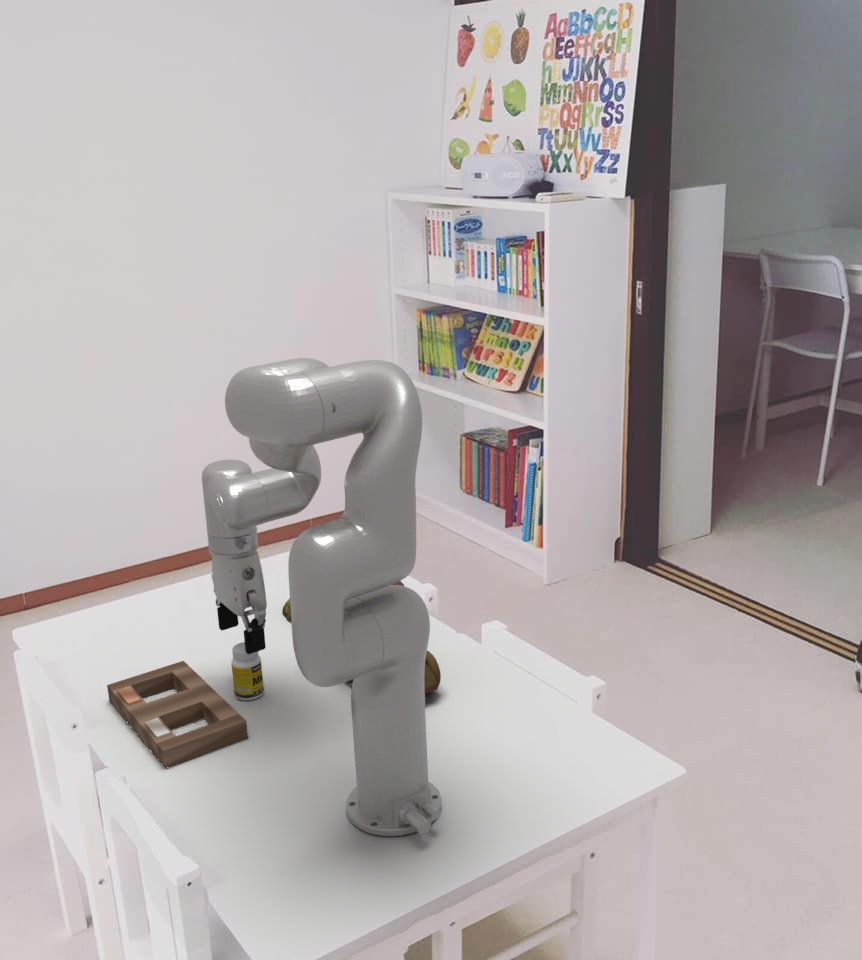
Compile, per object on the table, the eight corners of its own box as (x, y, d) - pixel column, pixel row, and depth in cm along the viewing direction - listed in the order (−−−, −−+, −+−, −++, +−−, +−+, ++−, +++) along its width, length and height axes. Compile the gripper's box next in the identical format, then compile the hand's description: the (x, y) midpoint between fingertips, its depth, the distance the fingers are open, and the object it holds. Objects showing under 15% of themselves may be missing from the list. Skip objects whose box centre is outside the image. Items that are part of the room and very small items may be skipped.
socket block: (248, 738, 162) (246, 718, 161) (165, 768, 155) (162, 748, 154) (185, 676, 181) (183, 658, 180) (109, 701, 174) (106, 682, 173)
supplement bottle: (258, 702, 172) (253, 655, 169) (230, 700, 173) (225, 653, 170) (268, 687, 176) (263, 641, 174) (241, 685, 177) (236, 639, 175)
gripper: (280, 552, 162) (288, 653, 167) (231, 517, 175) (240, 613, 181) (234, 564, 158) (244, 668, 163) (187, 528, 171) (198, 625, 177)
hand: (242, 639), depth 172 cm, fingers open, 9 cm apart
